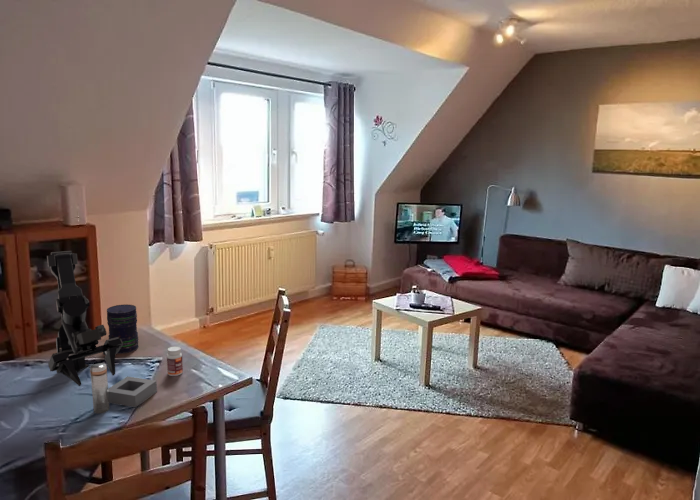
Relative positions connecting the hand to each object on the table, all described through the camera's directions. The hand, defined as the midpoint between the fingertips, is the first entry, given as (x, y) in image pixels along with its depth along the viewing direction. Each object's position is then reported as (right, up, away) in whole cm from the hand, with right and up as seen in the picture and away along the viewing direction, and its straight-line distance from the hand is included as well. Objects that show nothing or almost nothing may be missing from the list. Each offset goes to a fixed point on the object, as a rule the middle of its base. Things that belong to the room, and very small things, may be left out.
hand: (97, 379), depth 147 cm
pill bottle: (+13, -4, +25) cm, 29 cm away
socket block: (+6, -7, +9) cm, 13 cm away
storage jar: (-12, 0, +45) cm, 46 cm away
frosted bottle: (+1, -9, +1) cm, 9 cm away
